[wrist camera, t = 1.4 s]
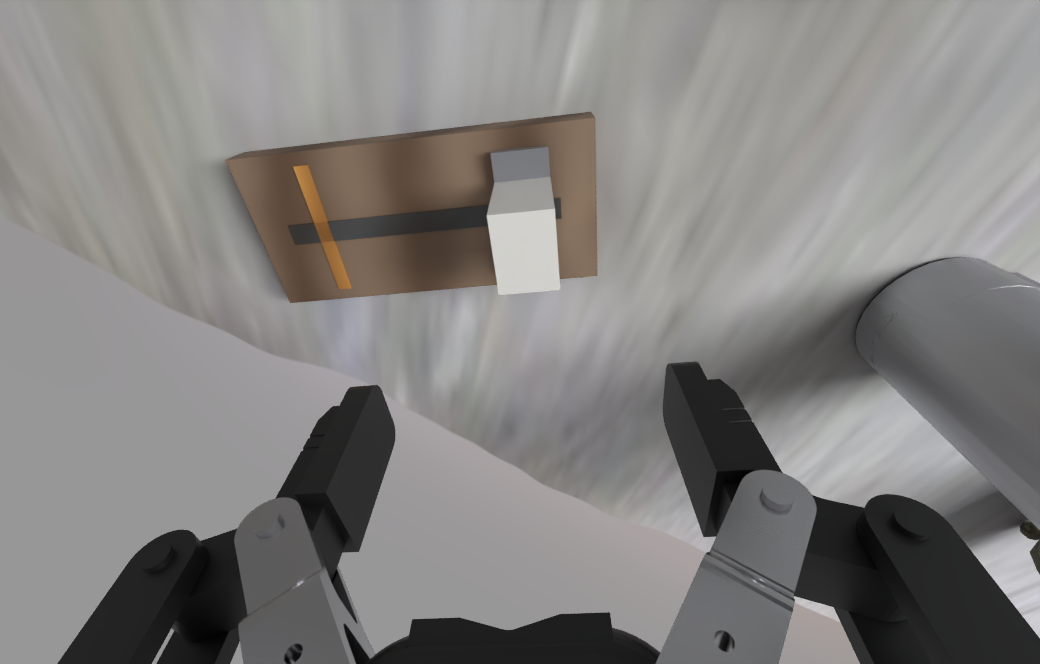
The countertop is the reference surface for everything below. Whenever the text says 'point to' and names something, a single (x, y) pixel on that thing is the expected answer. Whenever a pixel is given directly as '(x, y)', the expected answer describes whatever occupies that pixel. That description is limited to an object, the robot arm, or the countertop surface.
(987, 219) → the countertop surface
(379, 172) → the board
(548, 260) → the fader
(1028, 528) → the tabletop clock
